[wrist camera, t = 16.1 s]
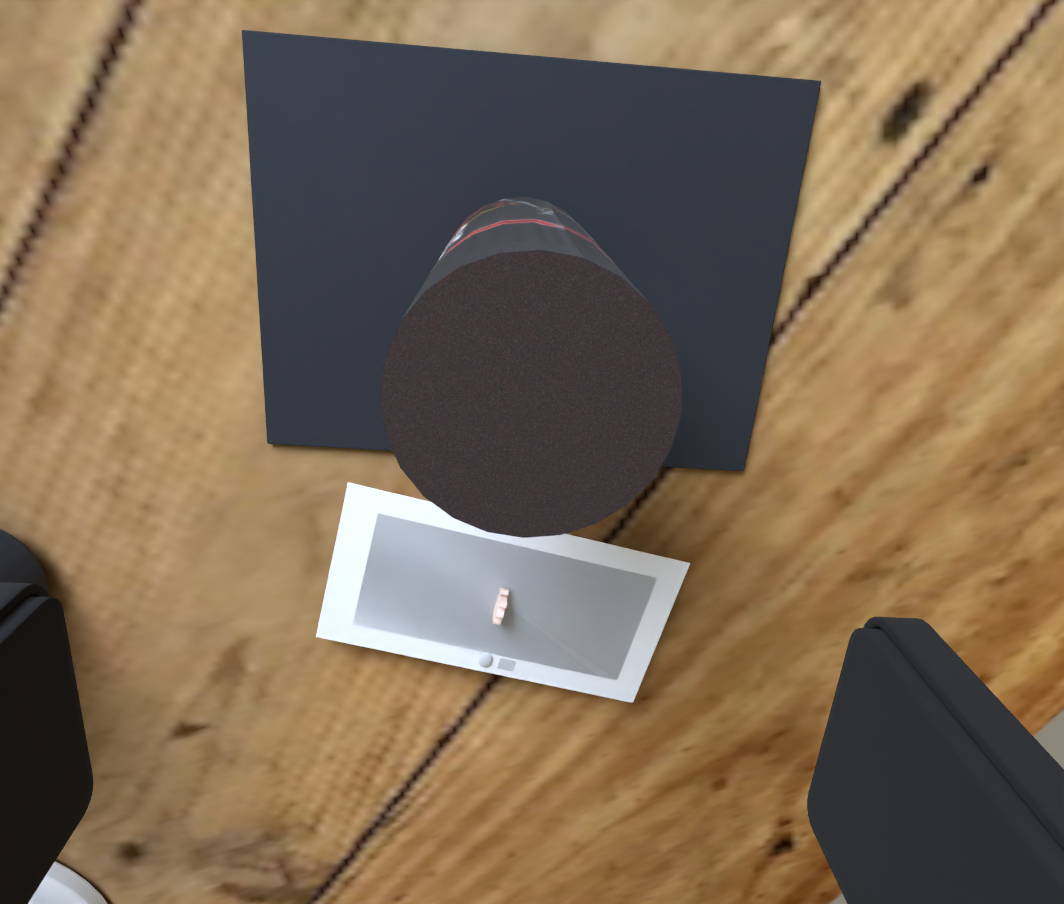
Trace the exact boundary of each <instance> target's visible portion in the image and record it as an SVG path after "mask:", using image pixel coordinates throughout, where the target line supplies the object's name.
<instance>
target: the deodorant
mask: <svg viewBox="0 0 1064 904" xmlns="http://www.w3.org/2000/svg"><path fill="white" fill-rule="evenodd" d="M379 397H380V404H381V410H382V417H383V423H384V429H385V435H386V437H387V439H388V441H389V444H390V446H391V448H392V450H393V452H394V455H395V457H396V459H397V461H398V463H399V465H400V468H401V469H402V470H403V471H404V473H405V474H406V475H407V476H408V478H409V479H410V480H411V481H412V482H413V484H414V485H415V486H416V487H417V489H418V490H419V491H420V492H421V494H422V495H423V496H424V497H425V498H427V499H428V500H429V501H431V502H432V503H433V504H435V505H436V506H438V507H439V508H440V509H442V510H443V511H444V512H446V513H447V514H448V515H450V516H451V517H453V518H454V519H457V520H459V521H462V522H464V523H466V524H469V525H471V526H474V527H476V528H478V529H481V530H483V531H486V532H489V533H496V534H502V535H508V536H515V537H521V538H529V537H542V536H555V535H562V534H565V533H568V532H572V531H575V530H578V529H581V528H584V527H587V526H590V525H594V524H596V523H598V522H599V521H601V520H603V519H604V518H606V517H608V516H609V515H611V514H613V513H614V512H616V511H618V510H620V509H621V508H623V507H625V506H626V505H627V504H628V503H629V502H630V501H631V500H632V499H634V498H635V497H636V496H637V495H638V494H639V493H640V492H641V491H642V490H643V489H644V488H645V487H646V486H647V485H648V484H649V483H650V482H651V481H652V480H653V478H654V477H655V475H656V473H657V472H658V470H659V468H660V467H661V465H662V463H663V462H664V460H665V458H666V456H667V455H668V453H669V451H670V450H671V448H672V445H673V441H674V438H675V434H676V431H677V427H678V424H679V420H680V417H681V413H682V372H681V369H680V365H679V362H678V358H677V355H676V351H675V347H674V344H673V340H672V337H671V336H670V334H669V332H668V331H667V329H666V328H665V326H664V324H663V323H662V321H661V320H660V318H659V316H658V315H657V313H656V311H655V310H654V308H653V307H652V305H651V304H650V303H649V301H648V300H647V299H646V298H645V297H644V296H643V295H642V294H641V292H640V291H639V290H638V289H637V288H636V287H635V286H634V285H633V283H632V282H631V281H630V280H629V279H628V278H627V277H626V276H625V274H624V273H623V272H622V271H621V270H620V269H619V268H618V267H617V265H616V264H615V263H614V262H613V261H612V260H611V259H610V258H609V256H608V255H607V254H606V253H605V252H604V251H603V250H602V249H601V248H600V246H599V245H598V244H597V243H596V242H595V241H594V240H593V239H592V237H591V236H590V235H589V234H588V233H587V232H586V231H585V230H584V228H583V227H582V226H581V225H580V224H579V223H578V222H577V221H576V220H575V219H573V218H572V217H571V216H570V215H569V214H568V213H567V212H566V211H565V210H563V209H561V208H559V207H557V206H555V205H553V204H551V203H549V202H547V201H544V200H539V199H534V198H529V197H516V198H504V199H501V200H499V201H496V202H493V203H490V204H487V205H485V206H483V207H482V208H480V209H479V210H478V211H476V212H475V213H473V214H472V215H471V216H469V217H468V218H467V219H466V220H465V221H464V223H463V224H462V225H461V226H460V228H459V229H458V230H457V231H456V233H455V234H454V235H453V237H452V239H451V240H450V242H449V243H448V245H447V247H446V248H445V250H444V251H443V253H442V255H441V256H440V258H439V260H438V261H437V263H436V264H435V266H434V268H433V269H432V271H431V272H430V274H429V276H428V277H427V279H426V281H425V282H424V284H423V285H422V287H421V289H420V290H419V292H418V294H417V295H416V297H415V298H414V300H413V302H412V303H411V305H410V306H409V308H408V310H407V311H406V313H405V315H404V316H403V318H402V319H401V321H400V323H399V325H398V328H397V330H396V332H395V335H394V337H393V339H392V342H391V344H390V346H389V349H388V351H387V353H386V356H385V358H384V364H383V372H382V380H381V388H380V396H379Z"/></svg>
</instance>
